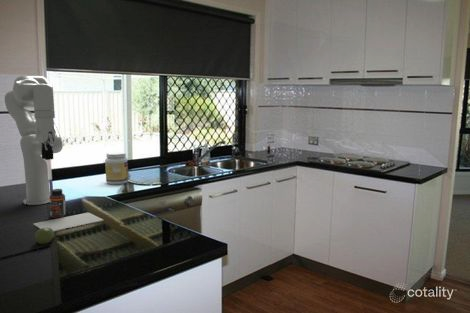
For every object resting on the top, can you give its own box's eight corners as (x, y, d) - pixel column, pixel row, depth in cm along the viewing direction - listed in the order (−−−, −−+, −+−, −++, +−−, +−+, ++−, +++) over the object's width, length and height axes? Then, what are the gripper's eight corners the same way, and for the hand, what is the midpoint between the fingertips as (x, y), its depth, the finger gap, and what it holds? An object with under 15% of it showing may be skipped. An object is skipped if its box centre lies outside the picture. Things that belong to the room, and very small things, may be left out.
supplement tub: (129, 183, 231) (128, 154, 229) (107, 185, 227) (105, 155, 224) (127, 179, 243) (125, 151, 240) (105, 181, 238) (103, 152, 236)
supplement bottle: (49, 219, 166) (47, 191, 165) (51, 215, 172) (49, 188, 170) (65, 218, 168) (63, 190, 166) (67, 214, 174) (65, 187, 172)
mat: (33, 224, 160) (33, 223, 160) (88, 213, 175) (88, 212, 175) (46, 233, 150) (46, 232, 150) (103, 220, 164) (103, 219, 164)
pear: (32, 230, 136) (40, 225, 146) (33, 246, 136) (40, 240, 146) (50, 228, 137) (57, 224, 147) (51, 244, 137) (57, 239, 147)
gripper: (28, 114, 173) (31, 157, 176) (42, 115, 161) (45, 162, 164) (47, 113, 178) (49, 155, 181) (61, 115, 166) (64, 160, 169)
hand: (47, 158), depth 172 cm, fingers open, 2 cm apart
